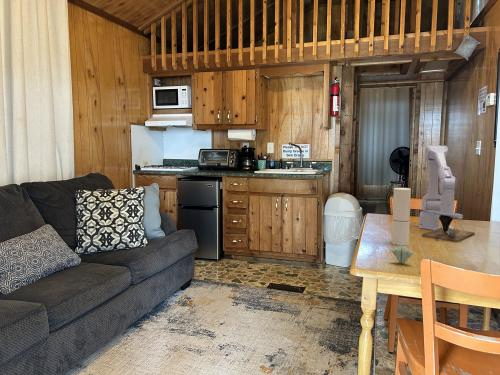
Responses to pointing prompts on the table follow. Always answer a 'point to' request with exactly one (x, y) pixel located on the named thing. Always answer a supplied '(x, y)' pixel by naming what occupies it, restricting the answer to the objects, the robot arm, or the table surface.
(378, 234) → the table surface
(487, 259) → the table surface
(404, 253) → the green fan shape
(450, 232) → the coupling lever
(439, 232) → the base
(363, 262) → the table surface
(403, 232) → the cream tall block
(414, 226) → the table surface
